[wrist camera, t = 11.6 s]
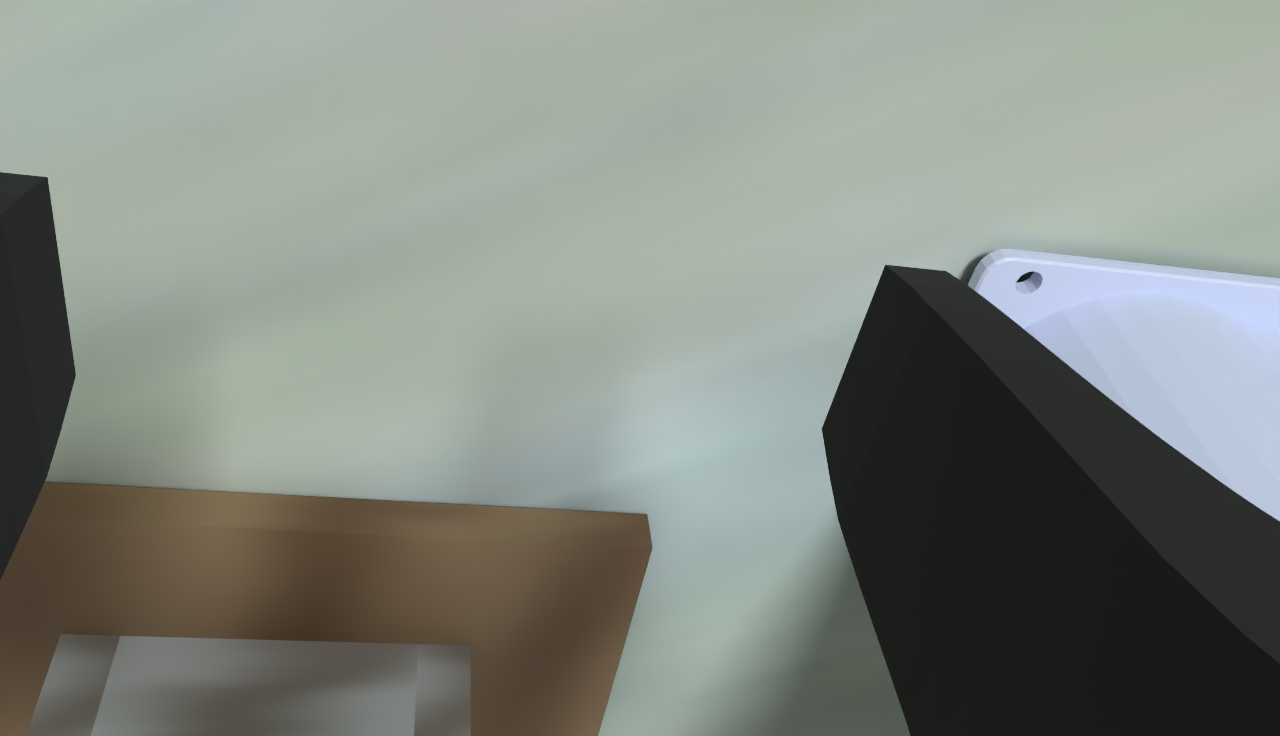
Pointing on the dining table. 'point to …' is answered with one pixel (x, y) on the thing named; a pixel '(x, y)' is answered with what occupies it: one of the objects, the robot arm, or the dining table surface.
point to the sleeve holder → (311, 616)
